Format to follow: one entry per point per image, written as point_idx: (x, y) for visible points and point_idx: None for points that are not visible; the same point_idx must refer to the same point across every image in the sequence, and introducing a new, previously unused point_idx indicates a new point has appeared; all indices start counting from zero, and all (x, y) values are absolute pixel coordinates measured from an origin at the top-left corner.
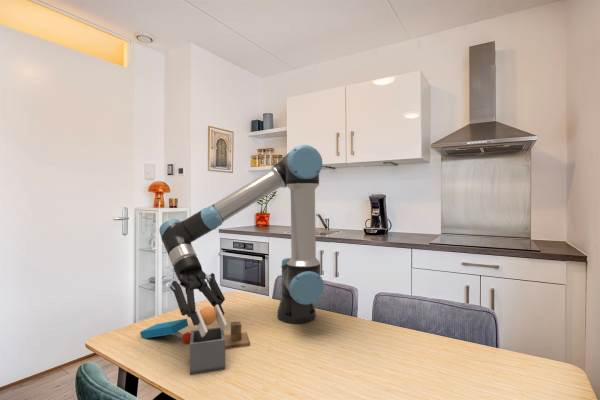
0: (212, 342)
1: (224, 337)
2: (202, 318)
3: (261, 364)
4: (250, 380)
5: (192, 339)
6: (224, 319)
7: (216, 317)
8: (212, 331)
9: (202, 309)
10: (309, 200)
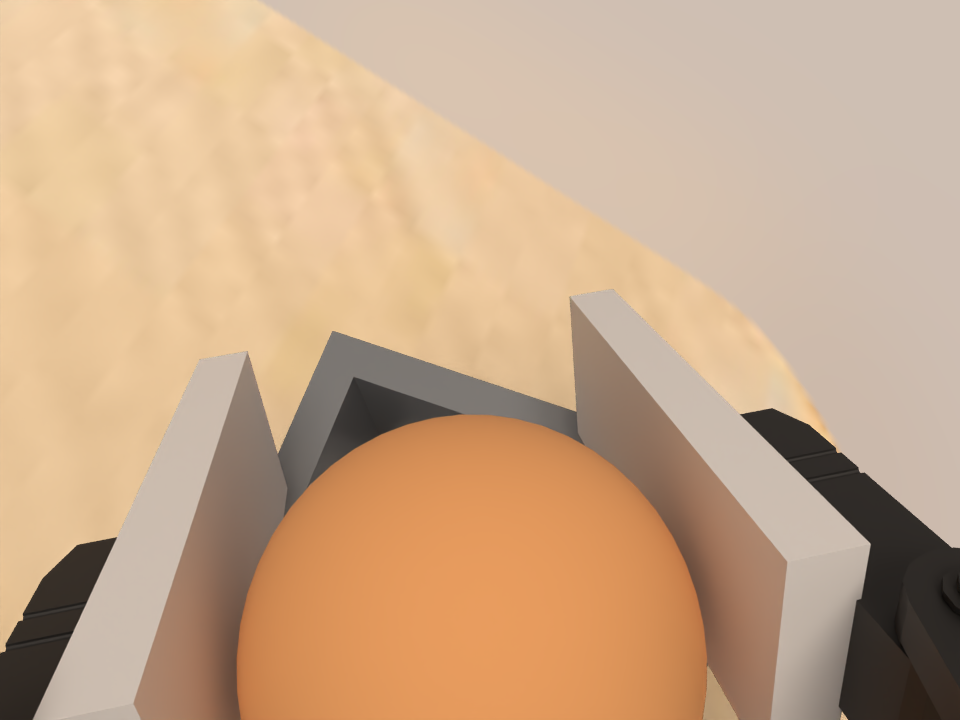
0: (477, 384)
1: (304, 396)
2: (662, 405)
3: (100, 314)
4: (295, 186)
5: None
6: (187, 406)
7: None
8: None
9: (637, 653)
10: None
